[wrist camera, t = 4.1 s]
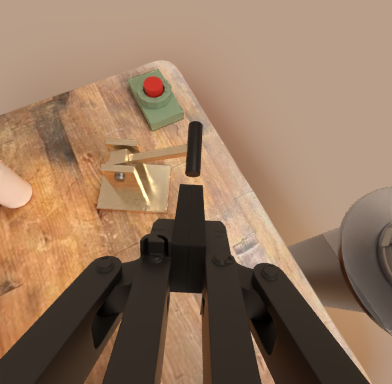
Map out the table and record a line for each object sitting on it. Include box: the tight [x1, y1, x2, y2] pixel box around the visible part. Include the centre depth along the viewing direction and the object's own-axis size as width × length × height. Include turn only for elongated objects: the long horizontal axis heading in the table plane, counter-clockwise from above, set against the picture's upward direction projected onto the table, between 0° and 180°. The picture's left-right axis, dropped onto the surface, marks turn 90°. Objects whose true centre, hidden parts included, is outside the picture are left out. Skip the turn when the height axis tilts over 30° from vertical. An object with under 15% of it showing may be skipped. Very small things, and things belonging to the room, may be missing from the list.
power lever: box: [108, 121, 203, 177], centre depth 34 cm, size 13×7×2 cm, turn 87°
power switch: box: [97, 138, 171, 214], centre depth 40 cm, size 12×9×13 cm
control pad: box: [127, 69, 184, 131], centre depth 51 cm, size 12×7×4 cm, turn 27°
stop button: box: [144, 76, 163, 98], centre depth 49 cm, size 4×4×2 cm
